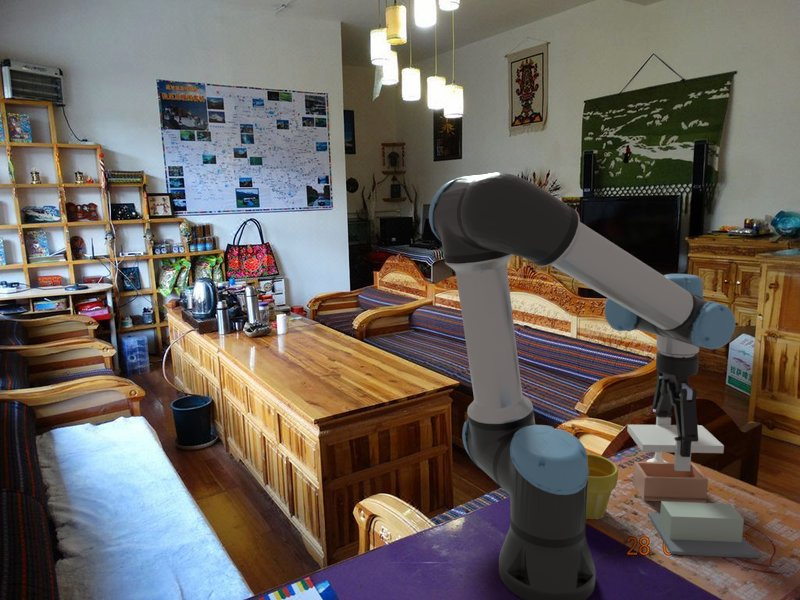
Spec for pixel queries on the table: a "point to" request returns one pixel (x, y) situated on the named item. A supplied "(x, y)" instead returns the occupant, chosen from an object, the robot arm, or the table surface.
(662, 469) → the open box
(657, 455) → the chess piece
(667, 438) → the board
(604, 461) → the plant pot
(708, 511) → the stand
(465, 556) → the table surface
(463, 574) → the table surface
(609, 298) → the robot arm
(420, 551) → the table surface
